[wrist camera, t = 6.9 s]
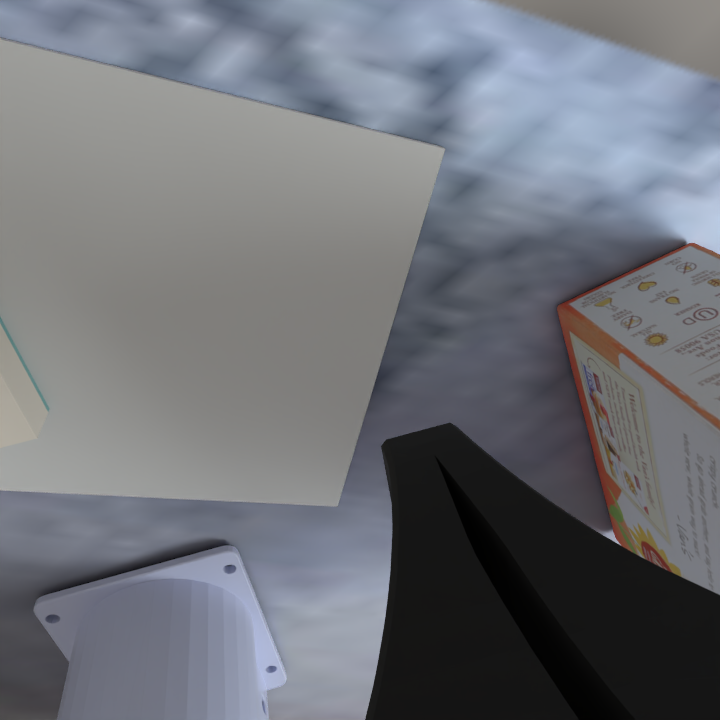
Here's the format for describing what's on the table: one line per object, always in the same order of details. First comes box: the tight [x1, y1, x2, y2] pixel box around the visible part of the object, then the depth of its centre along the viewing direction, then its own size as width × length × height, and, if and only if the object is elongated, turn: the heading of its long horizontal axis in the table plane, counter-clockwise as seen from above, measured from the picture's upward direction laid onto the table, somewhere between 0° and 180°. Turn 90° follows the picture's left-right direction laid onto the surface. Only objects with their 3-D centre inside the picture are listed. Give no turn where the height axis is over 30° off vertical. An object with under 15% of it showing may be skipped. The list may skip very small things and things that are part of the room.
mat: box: [0, 38, 445, 507], centre depth 18 cm, size 20×14×1 cm
